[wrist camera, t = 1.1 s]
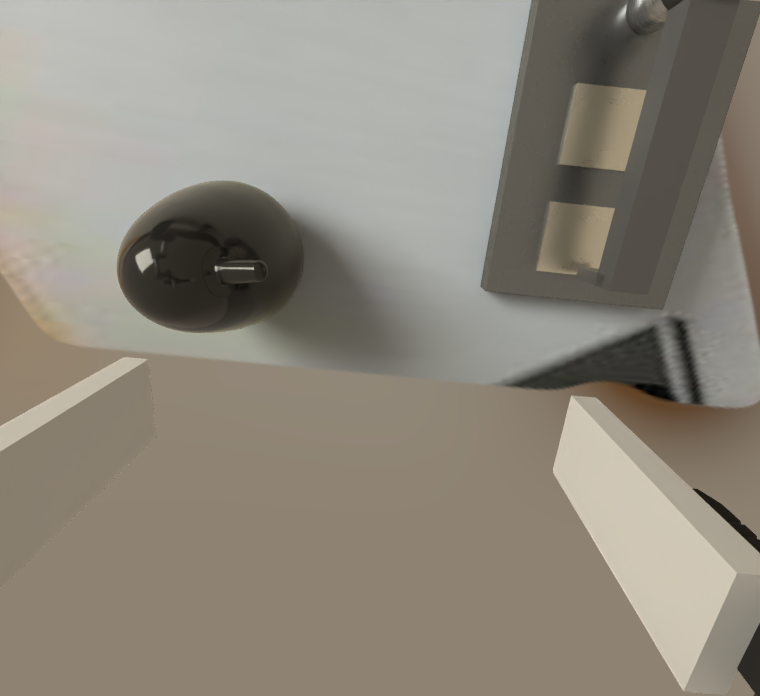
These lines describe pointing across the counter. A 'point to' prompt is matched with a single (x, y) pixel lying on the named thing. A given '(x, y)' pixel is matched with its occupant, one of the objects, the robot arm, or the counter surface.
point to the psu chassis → (590, 145)
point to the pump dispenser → (211, 258)
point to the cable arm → (663, 142)
